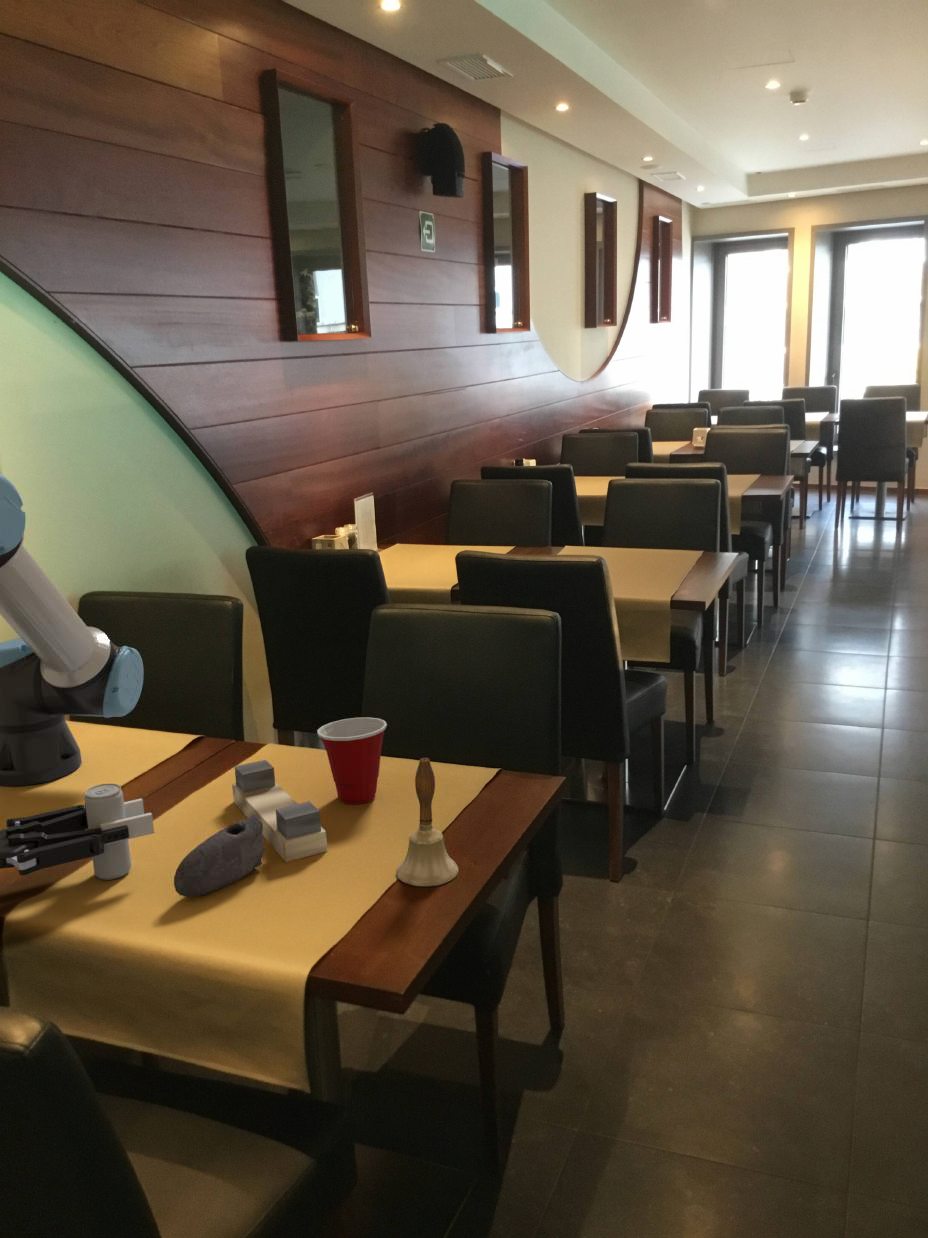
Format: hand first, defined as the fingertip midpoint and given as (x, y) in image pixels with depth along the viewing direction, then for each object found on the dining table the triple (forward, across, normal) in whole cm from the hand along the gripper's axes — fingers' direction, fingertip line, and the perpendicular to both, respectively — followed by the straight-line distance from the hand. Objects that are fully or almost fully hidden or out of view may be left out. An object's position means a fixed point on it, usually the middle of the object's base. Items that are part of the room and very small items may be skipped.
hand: (147, 815), depth 137 cm
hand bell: (+31, +23, -7) cm, 39 cm away
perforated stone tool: (+7, +11, -7) cm, 15 cm away
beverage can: (-5, 0, -7) cm, 9 cm away
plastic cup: (+33, -5, -7) cm, 34 cm away
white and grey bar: (+19, -2, -7) cm, 20 cm away
